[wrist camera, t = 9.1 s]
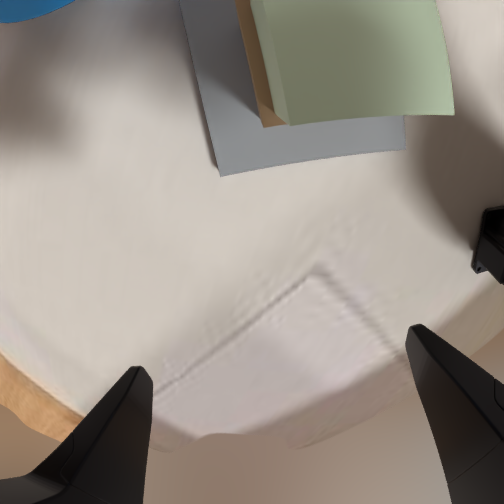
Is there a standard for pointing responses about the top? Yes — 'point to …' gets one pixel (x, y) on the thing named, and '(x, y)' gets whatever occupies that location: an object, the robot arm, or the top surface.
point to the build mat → (246, 110)
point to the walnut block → (256, 65)
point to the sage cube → (353, 58)
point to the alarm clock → (27, 9)
